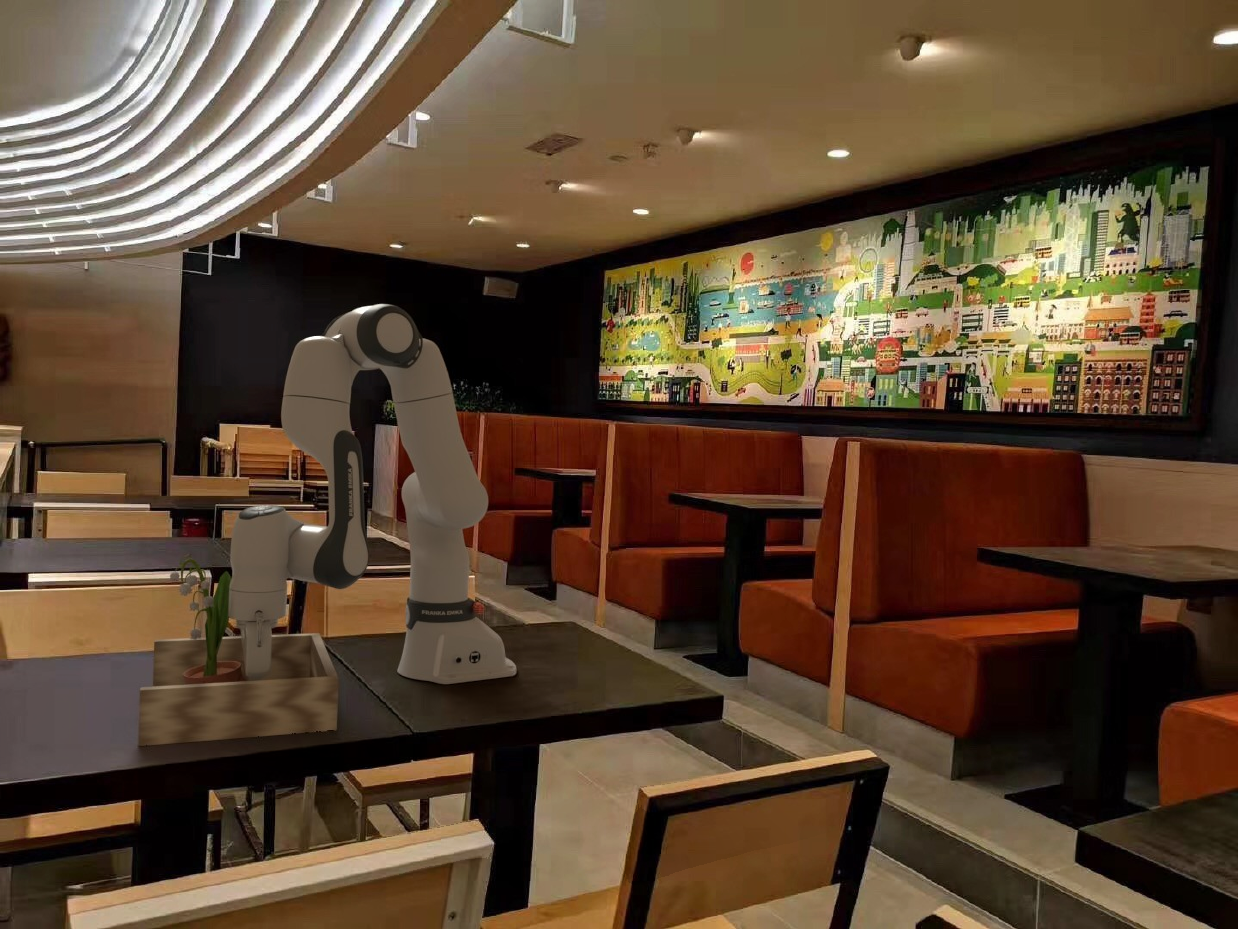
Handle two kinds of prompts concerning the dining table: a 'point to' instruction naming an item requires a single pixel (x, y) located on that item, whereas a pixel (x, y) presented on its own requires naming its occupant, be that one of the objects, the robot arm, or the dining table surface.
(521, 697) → the dining table surface
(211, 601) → the potted flower
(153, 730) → the open wooden planter box
